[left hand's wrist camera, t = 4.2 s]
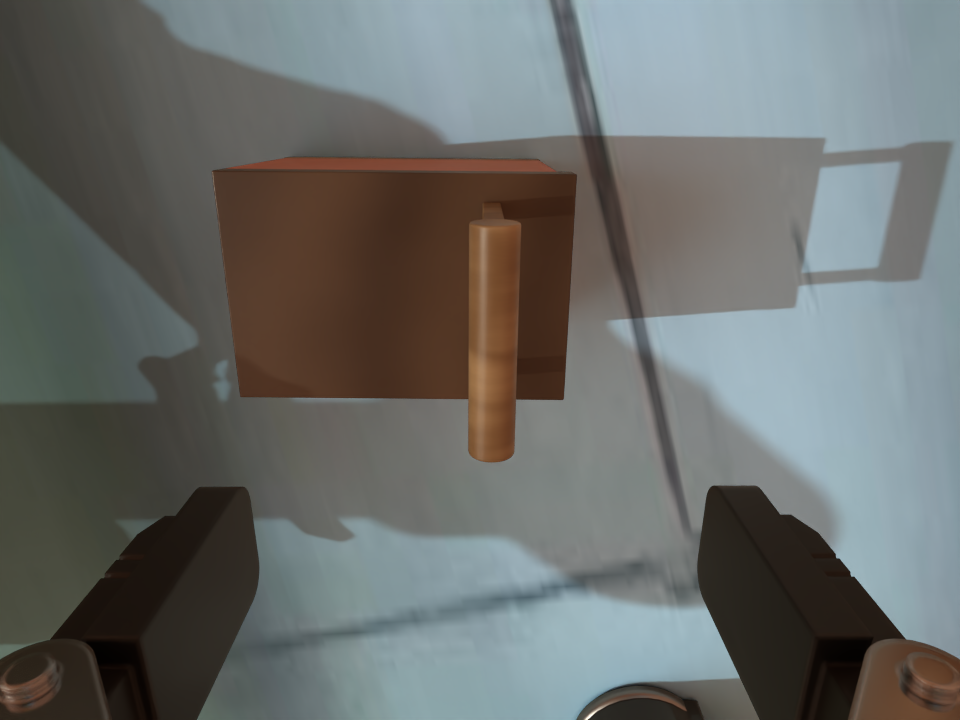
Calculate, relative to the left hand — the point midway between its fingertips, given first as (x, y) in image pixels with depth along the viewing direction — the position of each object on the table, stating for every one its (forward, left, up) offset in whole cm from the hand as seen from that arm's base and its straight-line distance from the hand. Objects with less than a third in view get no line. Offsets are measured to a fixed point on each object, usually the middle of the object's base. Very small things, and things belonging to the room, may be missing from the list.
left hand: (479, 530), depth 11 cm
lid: (+3, 0, -17) cm, 18 cm away
